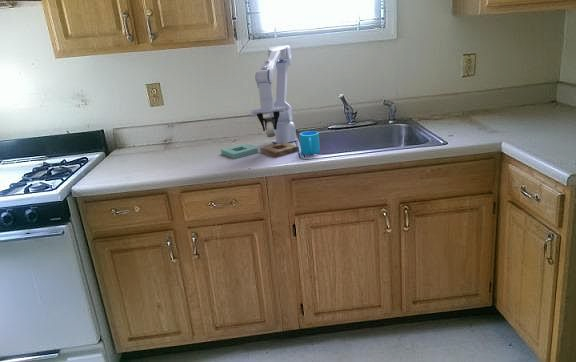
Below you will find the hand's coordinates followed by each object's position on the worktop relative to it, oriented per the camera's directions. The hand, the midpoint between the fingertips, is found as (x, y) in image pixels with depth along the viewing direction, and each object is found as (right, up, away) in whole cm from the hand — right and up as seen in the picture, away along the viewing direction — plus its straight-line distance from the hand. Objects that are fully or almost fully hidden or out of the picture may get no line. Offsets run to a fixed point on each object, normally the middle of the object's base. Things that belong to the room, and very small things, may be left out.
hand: (269, 129), depth 196 cm
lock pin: (+1, -2, +1) cm, 3 cm away
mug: (+18, -10, -4) cm, 21 cm away
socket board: (-14, -10, +6) cm, 18 cm away
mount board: (+4, -9, +3) cm, 11 cm away
